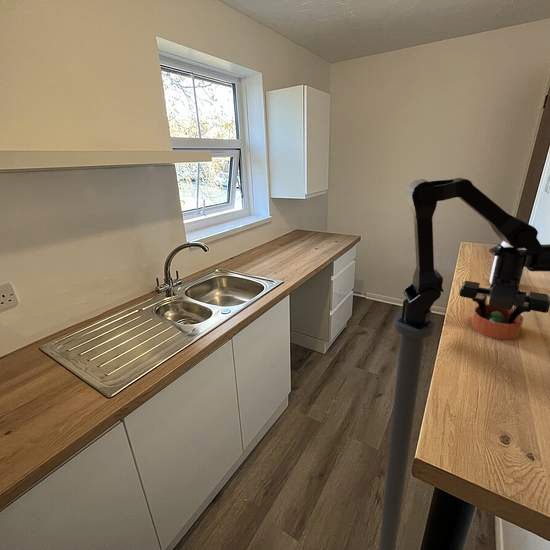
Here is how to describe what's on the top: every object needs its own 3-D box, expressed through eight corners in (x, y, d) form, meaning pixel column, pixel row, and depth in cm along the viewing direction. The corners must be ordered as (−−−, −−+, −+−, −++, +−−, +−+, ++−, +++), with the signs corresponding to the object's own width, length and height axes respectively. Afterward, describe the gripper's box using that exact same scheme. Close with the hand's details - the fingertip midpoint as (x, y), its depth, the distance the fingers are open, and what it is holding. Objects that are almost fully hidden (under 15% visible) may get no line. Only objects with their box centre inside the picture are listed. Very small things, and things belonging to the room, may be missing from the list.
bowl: (464, 327, 84) (467, 313, 83) (481, 313, 90) (483, 300, 88) (510, 344, 76) (514, 329, 74) (525, 328, 82) (529, 313, 80)
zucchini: (500, 335, 80) (505, 324, 78) (484, 329, 81) (489, 318, 80) (502, 321, 85) (507, 311, 83) (487, 316, 87) (492, 306, 85)
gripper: (460, 275, 76) (451, 327, 82) (559, 290, 65) (540, 349, 71) (467, 261, 84) (458, 309, 90) (556, 273, 73) (539, 327, 79)
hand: (495, 323), depth 83 cm, fingers open, 5 cm apart
